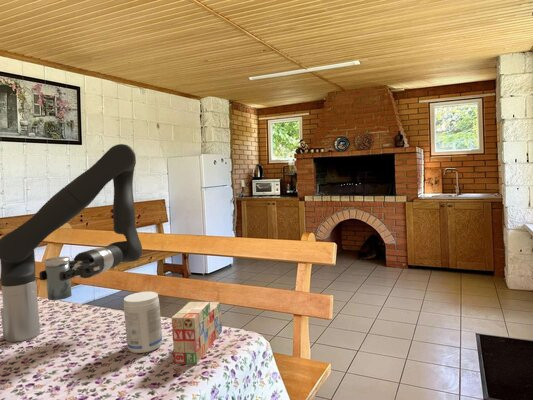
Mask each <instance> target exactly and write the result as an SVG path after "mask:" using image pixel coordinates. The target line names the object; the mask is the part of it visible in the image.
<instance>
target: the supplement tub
mask: <svg viewBox="0 0 533 400" xmlns="http://www.w3.org/2000/svg"><path fill="white" fill-rule="evenodd" d="M123 312H124V315H123V316H124V325H125V334H126V345H127V350H128V351H129V352H131V353H133V354H146V353H149V352H152V351H154V350H157V349H159V348H160V347H161V345H163V334H162V333H163V331H162V330H163V329H162V321H161V320H162V319H161V318H162V317H161V308H160V299H159V294H158V292H156V291H140V292H135V293H132V294H129V295H127V296H125V297H124V298H123Z"/></svg>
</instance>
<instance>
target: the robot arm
mask: <svg viewBox="0 0 533 400" xmlns="http://www.w3.org/2000/svg"><path fill="white" fill-rule="evenodd" d="M136 162H137V159H136V153H135V151H134V149H133V148H132V146H129V145H127V144H124V143H120V144H115V145H113V146H111V147H110V148H109V149H108V150H106V152H105V153H104V154H103V155H102V156H101V157H100V158H99V159H98V160H97V161H96V162H94V164H93V165H92V166H90V168H88V169H87V170H85V171H84V172H83V173H81V174H80V175H77V177H76V178H74V179H73V180H72V181H71V182H68V183H67V185H65V186H64V187H62V188H61V189H60V190H59V191H58V192H56V193H55V194H54V195H53V196H51V197H50V199H49V200H47V201H46V202H45V203H44V204H43V205H42V207H40V208H39V209H38V211H37V212H35V214H34V215H32V216H31V217H30V218H29V219H28V220H26V222H24V223H22V224H21V225H19V226H18V227H16V228H15V229H13V230H11V231H10V232H7V233H6V234H4V235H3V236H2V237H1V238H0V286H1V298H2V306H3V307H2V308H1V309H0V316H1V317H0V318H1V328H2V329H1V330H2V339H3V340H5V341H6V342H8V343H9V342H10V343H13V342H14V343H15V342H22V341H28V340H30V339H33V338H35V337H37V336H39V335H40V333H41V328H40V327H41V326H40V325H41V324H40V313H39V301H38V290H37V281H36V255H35V249H36V248H37V247H38V246H39V245H40V244H41V243H42V242H43V241H44V240H45V239H46V238H47V237H48V236H50V235H51V234H52V233H54V232H55V231H56V230H58V229H60V228H61V227H63V226H65V225H66V224H67V223H69V222H70V221H71V220H73V219H74V218H75V217H76V216H78V215H79V214H80V213H81V212H83V210H85V209H86V208H88V206H90V204H91V203H92V202H94V200H95V199H96V198H97V196H98V195H99V194H100V192H101V191H102V190H103V189H104V188H105V187H106V185H107V184H108V183H110V182H111V181H112V182H113V183H112V184H113V201H112V202H113V203H112V214H113V215H112V217H113V219H112V221H113V232H114V233H115V234H117V235H123V236H124V238H125V240H122V241H121V240H120V241H115V242H112V243H110V244H108V245H105V246H102V247H96V248H91V249H89V250H85V251H81V252H79V253H77V254H76V255H75V257H74V258H73V259H72V260H70V269H69V270H66V271H63V272H60V280H61V281H64V280H67V279H70V278H71V279H72V278H73V279H76V278H82V279H89V278H92V277H94V276H97V275H99V274H102V273H105V272H106V271H108V270H110V269H113V268H115V267H117V266H119V265H120V264H121V263H129V262H131V263H132V262H136V261H139V260H140V258H141V257H142V254H143V246H142V243H141V240H140V236H139V234H138V230H137V227H136V226H137V225H136V211H135V210H136V208H135V200H134V191H133V190H134V189H133V188H134V187H133V182H134V173H135V167H136V164H137V163H136ZM44 268H45V270H42V271H40V272H39V273H38V274H39V280H40V281H45V280H46V266H45V267H44Z"/></svg>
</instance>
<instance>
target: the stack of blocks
mask: <svg viewBox="0 0 533 400" xmlns="http://www.w3.org/2000/svg"><path fill="white" fill-rule="evenodd" d="M222 324H223V323H222V312H221V302H220V301H189V302H188V303H186V304H185V305H184V306H183V307H182V308H180V310H179V311H178V312H177V313H175V314H174V315H173V316H171V327H172V328H171V330H172V343H173V358H174V359H173V363H174V364H183V365H185V364H186V365H188V364H189V365H197V364H199V362H200V361H201V360H202V359H203V358H204V356H205V355H206V353H207V352H208V351H209V349H210V348H211V346H212V345H213V343H214V342H215V341H216V340H217V338H218V337H219V336H220V334H221V333H222V332H223V327H222Z"/></svg>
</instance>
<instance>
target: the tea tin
mask: <svg viewBox="0 0 533 400" xmlns="http://www.w3.org/2000/svg"><path fill="white" fill-rule="evenodd" d="M70 261H71V259H70V256H58V257H57V256H55V257H49V258H47V259H45V260H44V266H45V267H46V269H45V270H46V279H45V280H46V291H47V293H46V294H47V299H48V300H49V301H59V300H65V299H69V298H70V297H72V294H73V293H72V281H71V280H72V278H70V279H67V280H64V281H61V280H60V272H63V271H66V270H69V269H70Z"/></svg>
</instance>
